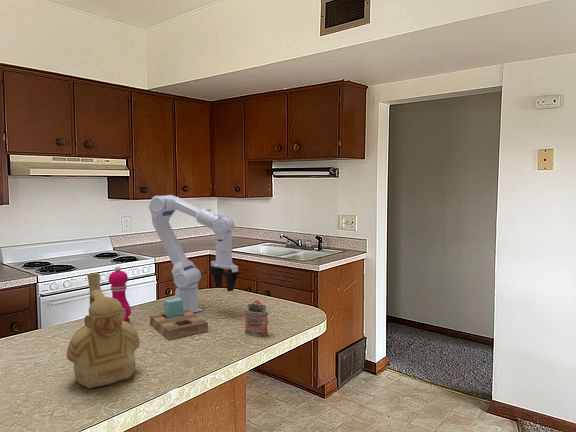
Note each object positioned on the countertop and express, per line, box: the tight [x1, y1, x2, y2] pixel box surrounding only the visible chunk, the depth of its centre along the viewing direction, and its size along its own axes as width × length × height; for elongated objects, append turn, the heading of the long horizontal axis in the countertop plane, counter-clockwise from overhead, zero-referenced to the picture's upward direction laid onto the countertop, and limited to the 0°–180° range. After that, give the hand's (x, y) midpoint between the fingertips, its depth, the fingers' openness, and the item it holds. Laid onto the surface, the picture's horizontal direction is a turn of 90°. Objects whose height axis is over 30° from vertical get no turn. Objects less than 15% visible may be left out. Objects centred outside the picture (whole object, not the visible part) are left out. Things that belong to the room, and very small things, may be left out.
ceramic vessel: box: [65, 272, 140, 389], centre depth 111 cm, size 17×20×25 cm
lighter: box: [244, 302, 269, 338], centre depth 141 cm, size 8×3×10 cm, turn 62°
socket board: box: [149, 309, 209, 341], centre depth 148 cm, size 18×13×3 cm
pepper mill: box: [108, 265, 132, 324], centre depth 150 cm, size 7×7×20 cm
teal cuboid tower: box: [164, 297, 183, 319], centre depth 151 cm, size 4×5×8 cm
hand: (224, 288), depth 161 cm, fingers open, 7 cm apart
